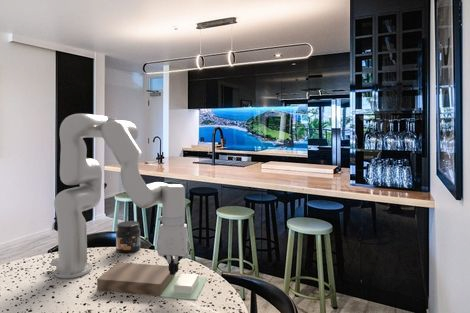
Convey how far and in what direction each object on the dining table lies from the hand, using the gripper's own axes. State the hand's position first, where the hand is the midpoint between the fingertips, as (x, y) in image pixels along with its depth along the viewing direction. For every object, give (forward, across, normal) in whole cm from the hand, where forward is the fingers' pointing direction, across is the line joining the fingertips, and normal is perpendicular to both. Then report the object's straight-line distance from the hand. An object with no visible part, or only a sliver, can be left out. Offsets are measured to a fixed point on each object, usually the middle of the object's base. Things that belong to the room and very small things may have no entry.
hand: (173, 273), depth 108 cm
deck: (+5, -13, 0) cm, 14 cm away
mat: (+5, +4, 0) cm, 6 cm away
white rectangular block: (+3, +5, 0) cm, 6 cm away
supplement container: (+5, -31, +30) cm, 44 cm away
